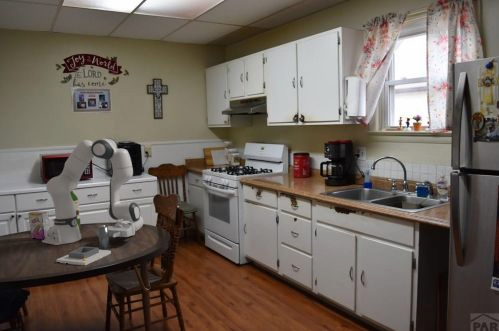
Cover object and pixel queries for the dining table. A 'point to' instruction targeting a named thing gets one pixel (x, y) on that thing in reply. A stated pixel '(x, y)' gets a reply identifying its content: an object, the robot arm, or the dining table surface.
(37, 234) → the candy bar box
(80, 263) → the white board with tray
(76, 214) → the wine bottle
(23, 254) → the dining table surface
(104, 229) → the battery cell
